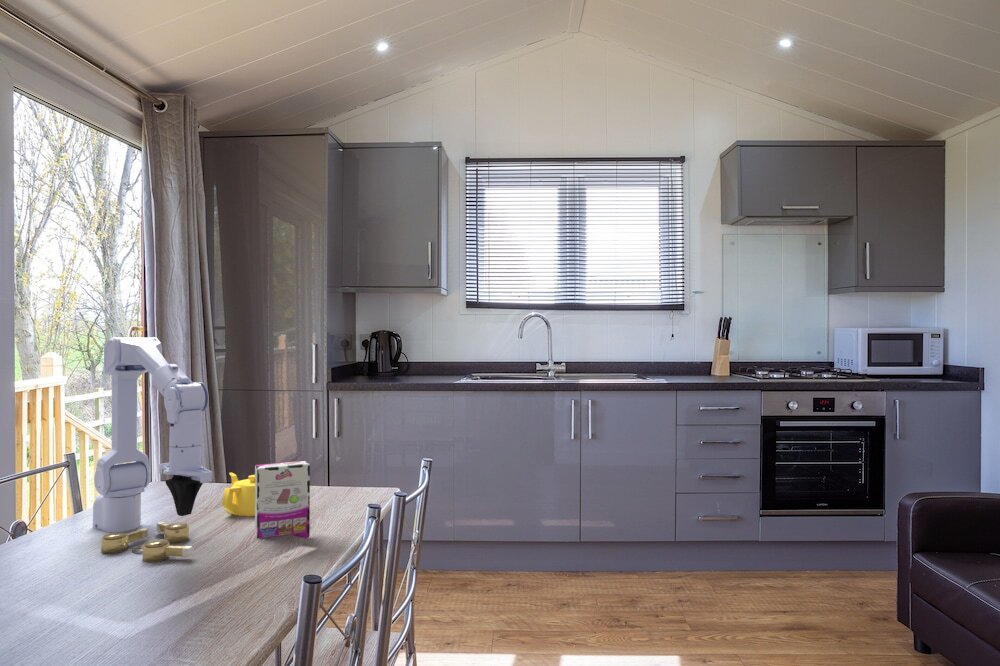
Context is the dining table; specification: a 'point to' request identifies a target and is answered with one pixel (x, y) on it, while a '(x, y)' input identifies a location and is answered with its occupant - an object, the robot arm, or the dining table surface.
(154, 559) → the knob front
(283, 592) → the dining table surface
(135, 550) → the tribrach plate
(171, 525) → the knob rear
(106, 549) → the knob inner
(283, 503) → the candy bar box
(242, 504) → the teapot
